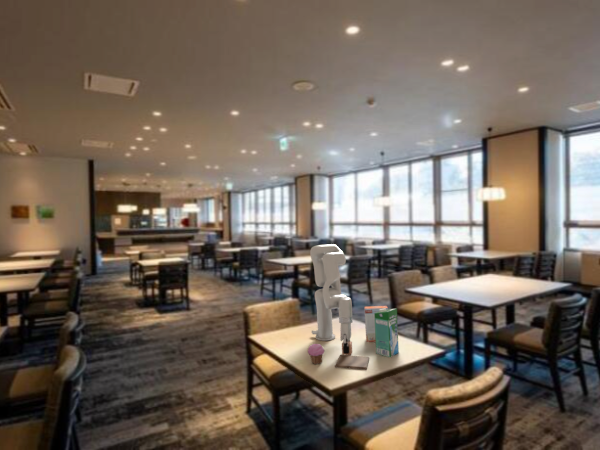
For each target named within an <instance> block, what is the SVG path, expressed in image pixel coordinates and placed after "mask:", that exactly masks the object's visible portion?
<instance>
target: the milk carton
mask: <svg viewBox="0 0 600 450" xmlns="http://www.w3.org/2000/svg"><path fill="white" fill-rule="evenodd" d="M374 315H375V337H376V342H375V354H377V355H381V356H384V357H388V358H391V357H393V356H396V355H397V354H398V353H400V352H399V349H400V348H399V329H398V308H388V310H386V308H384V309H380V310H379V312H377V313H374Z"/></svg>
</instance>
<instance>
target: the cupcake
mask: <svg viewBox="0 0 600 450" xmlns="http://www.w3.org/2000/svg"><path fill="white" fill-rule="evenodd" d="M307 353H308V355H309V356H310V360H311V362H312V364H314V365H319V364H322V362H323V356H324V354H325V349H324V347H323V346H322V345H321V344H320V343H313V344H311V345H309V347H308V348H307Z"/></svg>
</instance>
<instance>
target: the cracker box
mask: <svg viewBox="0 0 600 450" xmlns="http://www.w3.org/2000/svg"><path fill="white" fill-rule="evenodd" d="M363 308H364V324H365V326H364V327H365V340H366V343H376V337H375V315H374V313H377V312H379V310H380V309H384V308H386V310H388V309H389V307H388V306H387V305H375V306H374V305H372V306H364V307H363Z"/></svg>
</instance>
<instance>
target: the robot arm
mask: <svg viewBox="0 0 600 450" xmlns="http://www.w3.org/2000/svg"><path fill="white" fill-rule="evenodd" d="M309 253H310V258H311V262H312V264H313V269H314V281H315V284H316V286H317V287H320V288H319V289H317V290H316V291H315V292H314V300H315V305H316V320H317V321H316V323H317V329H316V330H314V329H313V330H311V335H315V339H316V340H318V341H323V342H325V341H327V342H328V341H333V340H334V339H335V338H336V334H334V333H333V313H332V310H333V309H334V310H335V309H338V322H339V324H340V329H339V330H340V335H339V336H340V341H341V342H342V343H343V353H347V354H349V346H348V341H351V338H352V323H353V304H352V299H351V297H349V296H347V295H346V294H344V293H343V294H342V287H341V273H340V272H341V271H340V270H339V266H341V267H342V266H344V265H345V264H346V262H347V261H346V260H347V259H346V255H345V253H344V252H343V250H341V249H340V248H339V246H337V244H334V243H333V244H332V243H331V244H318V245H314V246H312V247H311V248H310V252H309ZM321 287H322V288H321ZM346 342H347V343H346Z"/></svg>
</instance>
